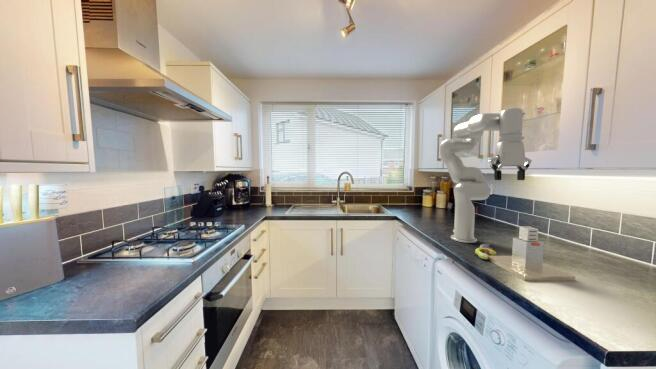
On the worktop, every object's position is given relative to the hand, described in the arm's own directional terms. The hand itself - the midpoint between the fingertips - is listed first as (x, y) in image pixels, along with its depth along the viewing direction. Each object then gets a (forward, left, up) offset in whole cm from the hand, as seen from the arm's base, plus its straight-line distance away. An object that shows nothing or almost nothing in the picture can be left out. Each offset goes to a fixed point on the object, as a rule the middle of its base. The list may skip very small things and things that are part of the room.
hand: (509, 180), depth 101 cm
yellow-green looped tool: (-10, -2, -35) cm, 36 cm away
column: (+9, +2, -33) cm, 34 cm away
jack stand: (+9, +2, -35) cm, 36 cm away
